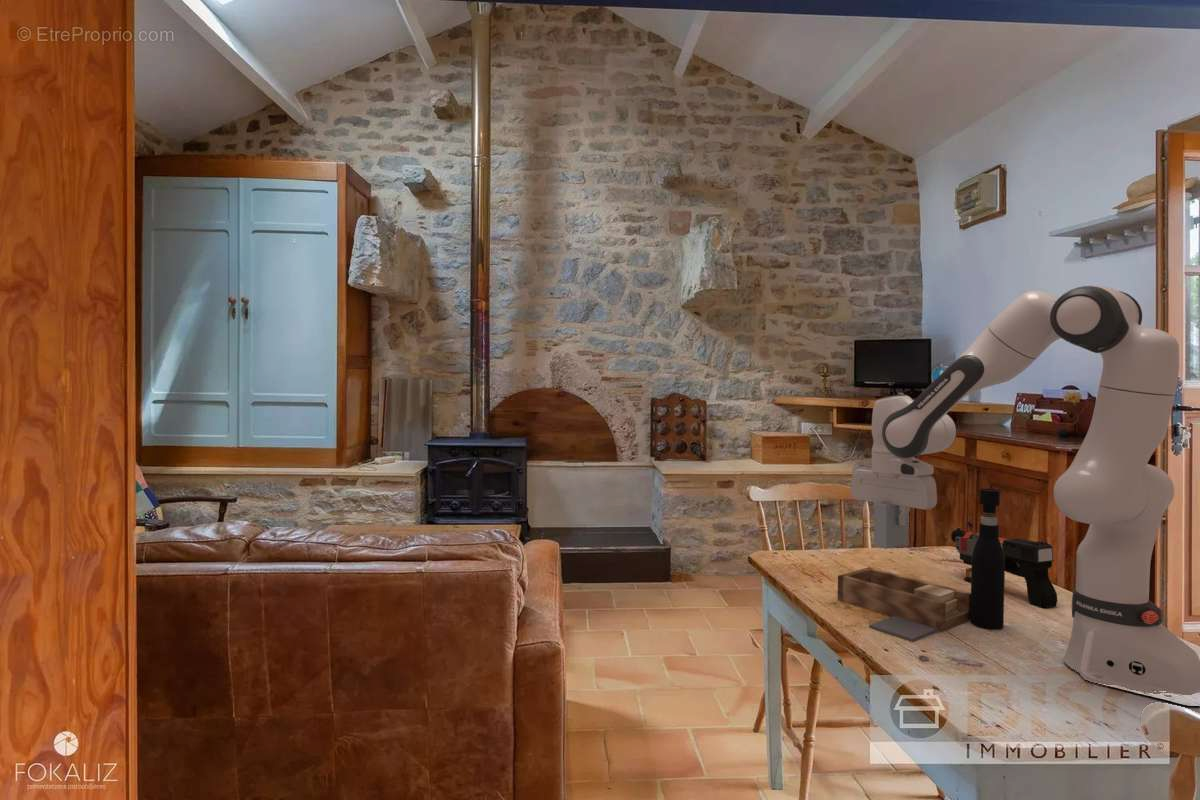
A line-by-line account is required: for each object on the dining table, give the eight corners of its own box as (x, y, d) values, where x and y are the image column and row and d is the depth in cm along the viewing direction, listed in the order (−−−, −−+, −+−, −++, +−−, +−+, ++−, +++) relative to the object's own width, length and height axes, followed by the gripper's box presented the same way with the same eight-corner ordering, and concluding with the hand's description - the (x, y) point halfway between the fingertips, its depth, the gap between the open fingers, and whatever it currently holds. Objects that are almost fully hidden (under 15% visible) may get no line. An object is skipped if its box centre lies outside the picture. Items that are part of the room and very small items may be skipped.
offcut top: (954, 599, 157) (954, 591, 157) (939, 605, 154) (940, 596, 154) (928, 592, 162) (928, 584, 162) (914, 597, 159) (914, 589, 159)
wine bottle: (1007, 630, 151) (1011, 492, 150) (975, 628, 152) (978, 491, 151) (997, 620, 157) (1000, 487, 156) (966, 618, 158) (969, 487, 157)
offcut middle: (957, 610, 158) (957, 599, 158) (942, 617, 153) (942, 606, 153) (926, 602, 163) (926, 592, 163) (911, 609, 159) (911, 598, 159)
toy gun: (964, 580, 193) (963, 526, 193) (1061, 606, 166) (1059, 543, 166) (946, 582, 191) (944, 527, 191) (1040, 609, 164) (1038, 545, 164)
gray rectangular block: (908, 543, 165) (908, 501, 165) (886, 548, 160) (886, 505, 160) (896, 541, 167) (896, 499, 167) (874, 546, 162) (874, 503, 162)
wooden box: (971, 619, 158) (972, 593, 157) (941, 631, 150) (942, 604, 150) (868, 590, 179) (869, 567, 178) (837, 599, 171) (837, 575, 171)
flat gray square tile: (938, 631, 150) (938, 628, 150) (912, 641, 144) (912, 638, 144) (894, 618, 158) (895, 615, 158) (869, 627, 152) (869, 624, 152)
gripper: (845, 461, 170) (844, 518, 170) (925, 469, 153) (925, 532, 153) (860, 459, 174) (860, 515, 174) (940, 467, 157) (940, 528, 157)
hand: (891, 523), depth 164 cm, fingers closed on gray rectangular block, 3 cm apart
